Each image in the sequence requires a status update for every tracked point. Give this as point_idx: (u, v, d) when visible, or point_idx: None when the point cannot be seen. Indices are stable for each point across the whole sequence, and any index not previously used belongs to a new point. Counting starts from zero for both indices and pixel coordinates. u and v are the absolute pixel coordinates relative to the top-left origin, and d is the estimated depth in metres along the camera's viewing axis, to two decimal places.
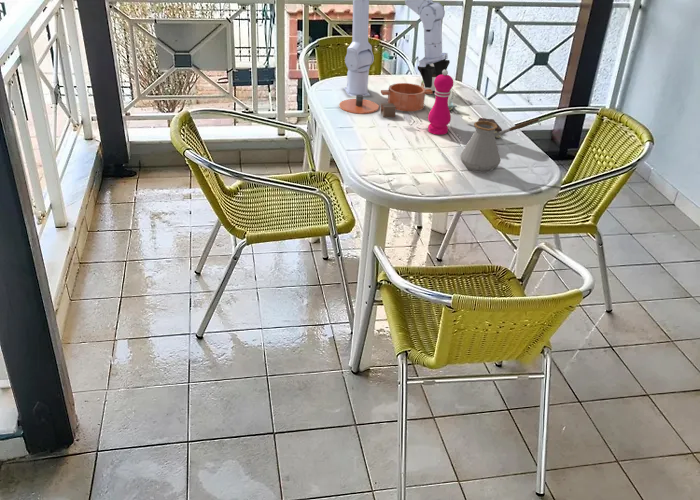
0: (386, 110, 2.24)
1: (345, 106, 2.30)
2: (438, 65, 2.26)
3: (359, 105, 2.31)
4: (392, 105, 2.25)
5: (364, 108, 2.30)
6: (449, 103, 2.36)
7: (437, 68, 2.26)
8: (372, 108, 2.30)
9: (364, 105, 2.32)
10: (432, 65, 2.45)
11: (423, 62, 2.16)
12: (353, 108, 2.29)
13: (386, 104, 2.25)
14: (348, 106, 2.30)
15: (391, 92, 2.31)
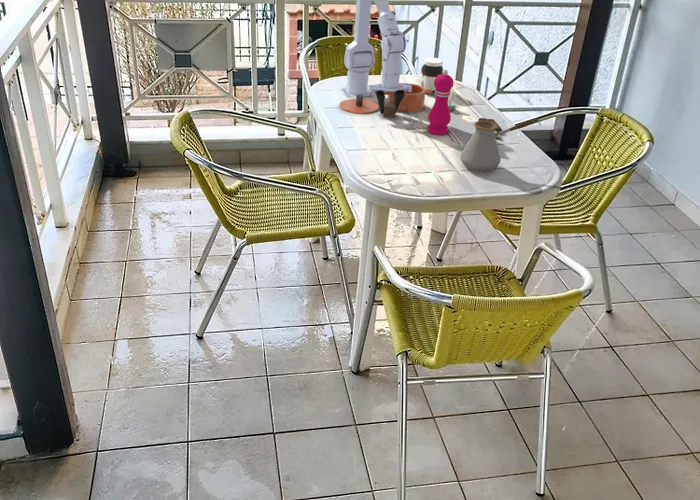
0: (386, 110, 2.24)
1: (345, 106, 2.30)
2: (395, 95, 2.24)
3: (359, 105, 2.31)
4: (392, 105, 2.25)
5: (364, 108, 2.30)
6: (449, 103, 2.36)
7: (394, 98, 2.25)
8: (372, 108, 2.30)
9: (364, 105, 2.32)
10: (432, 65, 2.45)
11: (369, 88, 2.20)
12: (353, 108, 2.29)
13: (386, 104, 2.25)
14: (348, 106, 2.30)
15: (391, 92, 2.31)
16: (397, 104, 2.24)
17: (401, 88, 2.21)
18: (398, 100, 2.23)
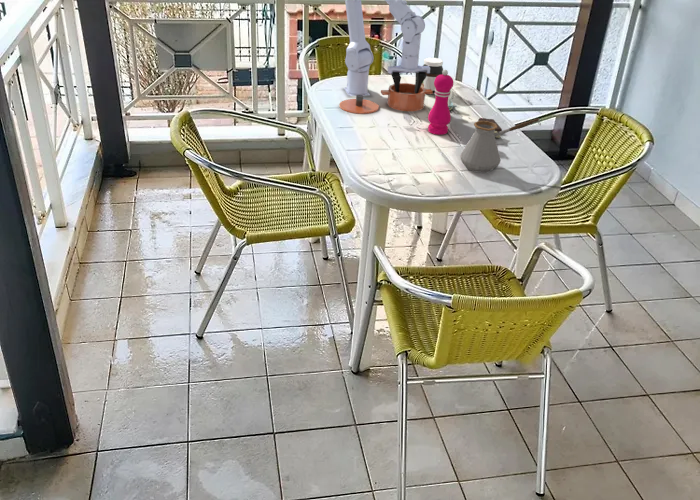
0: None
1: (345, 106, 2.30)
2: (417, 76, 2.33)
3: (359, 105, 2.31)
4: None
5: (364, 108, 2.30)
6: (449, 103, 2.36)
7: (416, 79, 2.34)
8: (372, 108, 2.30)
9: (364, 105, 2.32)
10: (432, 65, 2.45)
11: (389, 69, 2.28)
12: (353, 108, 2.29)
13: (404, 93, 2.35)
14: (348, 106, 2.30)
15: (391, 92, 2.31)
16: (419, 85, 2.32)
17: (420, 69, 2.29)
18: (420, 81, 2.31)
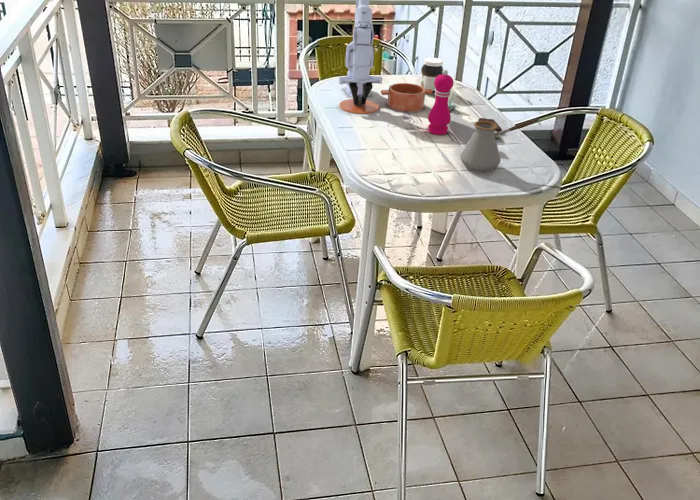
0: None
1: (345, 106, 2.30)
2: (363, 87, 2.30)
3: (359, 105, 2.31)
4: None
5: (364, 108, 2.30)
6: (449, 103, 2.36)
7: (363, 89, 2.31)
8: (372, 108, 2.30)
9: (364, 105, 2.33)
10: (432, 65, 2.45)
11: (340, 79, 2.25)
12: (353, 108, 2.29)
13: (404, 93, 2.35)
14: (348, 106, 2.30)
15: (391, 92, 2.31)
16: (366, 96, 2.29)
17: (371, 80, 2.26)
18: (366, 92, 2.28)
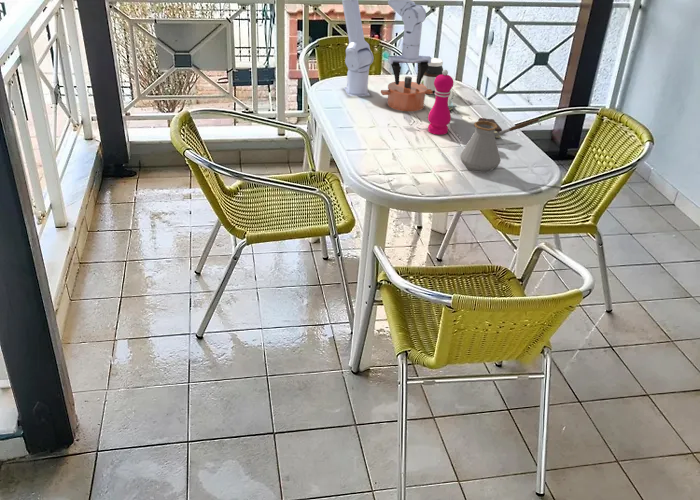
0: None
1: (394, 88, 2.31)
2: (419, 66, 2.31)
3: (408, 87, 2.32)
4: None
5: (413, 90, 2.31)
6: (449, 103, 2.36)
7: (418, 69, 2.32)
8: (421, 90, 2.31)
9: (412, 86, 2.34)
10: (432, 65, 2.45)
11: (390, 59, 2.26)
12: (402, 90, 2.30)
13: None
14: (397, 88, 2.32)
15: (391, 92, 2.31)
16: (421, 75, 2.31)
17: (421, 59, 2.27)
18: (422, 71, 2.30)
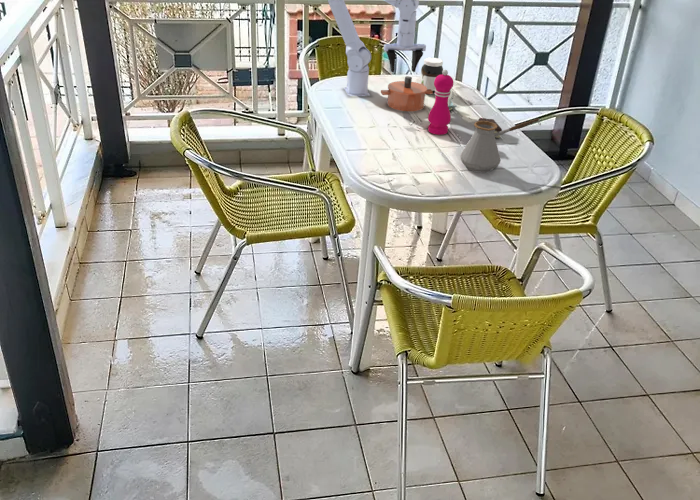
0: None
1: (394, 88, 2.31)
2: (414, 54, 2.36)
3: (408, 87, 2.32)
4: None
5: (413, 90, 2.31)
6: (449, 103, 2.36)
7: (413, 57, 2.37)
8: (421, 90, 2.31)
9: (412, 86, 2.34)
10: (432, 65, 2.45)
11: (385, 46, 2.31)
12: (402, 90, 2.30)
13: None
14: (397, 88, 2.32)
15: (391, 92, 2.31)
16: (416, 63, 2.35)
17: (416, 47, 2.32)
18: (417, 59, 2.34)
